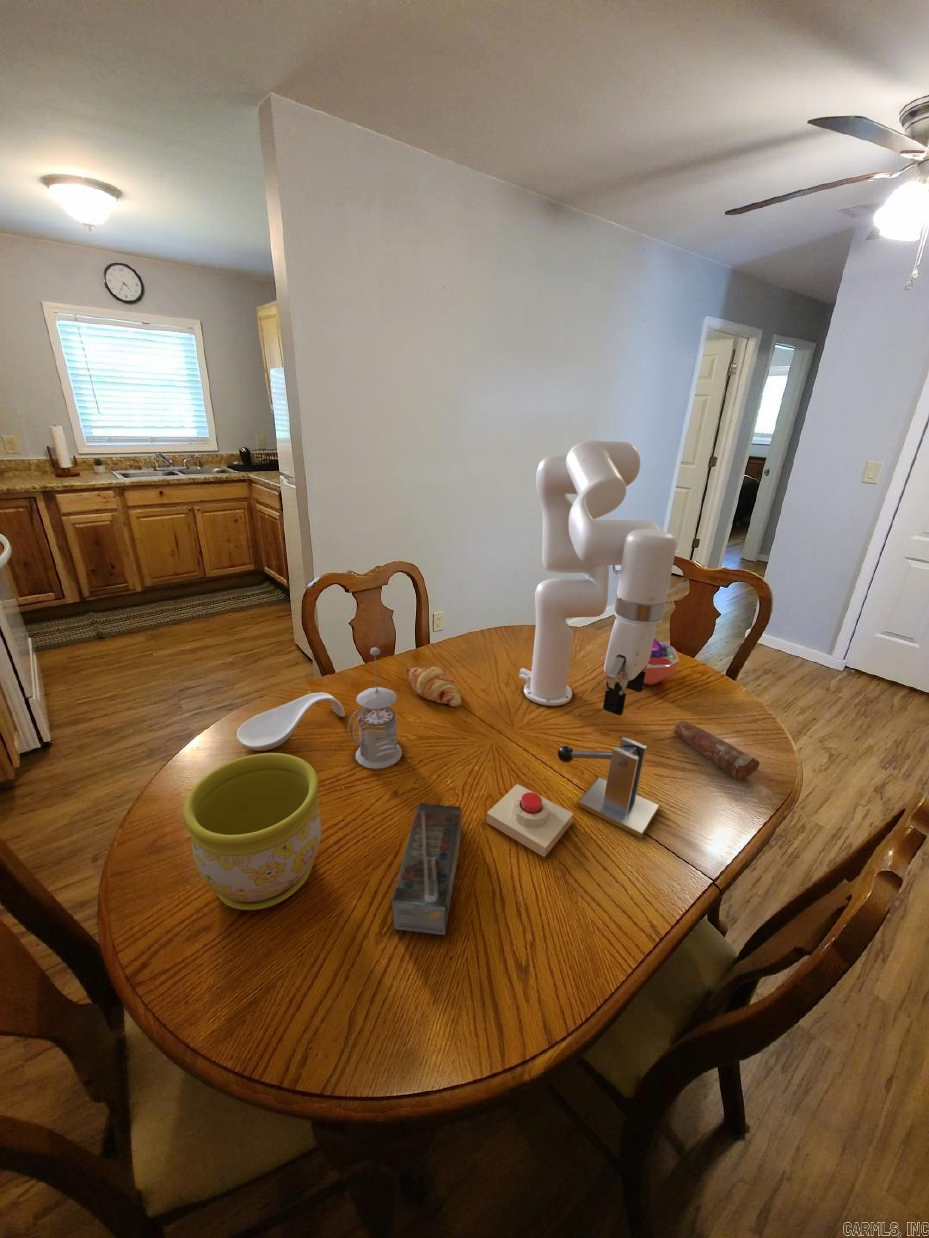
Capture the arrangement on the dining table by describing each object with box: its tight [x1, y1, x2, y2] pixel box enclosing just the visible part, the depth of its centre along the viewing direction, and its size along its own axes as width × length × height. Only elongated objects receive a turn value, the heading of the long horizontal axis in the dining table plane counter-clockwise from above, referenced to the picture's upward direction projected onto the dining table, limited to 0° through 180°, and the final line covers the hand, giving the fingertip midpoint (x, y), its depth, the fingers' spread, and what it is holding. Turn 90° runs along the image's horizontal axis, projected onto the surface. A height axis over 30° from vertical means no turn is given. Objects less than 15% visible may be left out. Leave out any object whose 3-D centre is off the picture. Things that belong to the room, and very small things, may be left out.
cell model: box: [621, 637, 680, 686], centre depth 140 cm, size 17×20×11 cm
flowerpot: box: [182, 752, 323, 911], centre depth 75 cm, size 18×18×16 cm
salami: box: [673, 720, 760, 781], centre depth 109 cm, size 6×19×6 cm, turn 23°
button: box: [521, 791, 542, 814], centre depth 88 cm, size 4×4×2 cm
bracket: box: [578, 736, 660, 839], centre depth 91 cm, size 12×9×14 cm
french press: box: [347, 646, 403, 770], centre depth 101 cm, size 10×12×25 cm
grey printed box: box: [391, 802, 462, 936], centre depth 77 cm, size 8×19×7 cm, turn 173°
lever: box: [557, 745, 640, 764], centre depth 94 cm, size 16×3×3 cm, turn 51°
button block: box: [485, 783, 574, 858], centre depth 89 cm, size 12×10×4 cm
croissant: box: [406, 665, 462, 707], centre depth 129 cm, size 21×10×8 cm, turn 44°
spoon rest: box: [236, 692, 346, 752], centre depth 111 cm, size 24×12×7 cm, turn 134°
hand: (623, 700), depth 87 cm, fingers open, 9 cm apart
